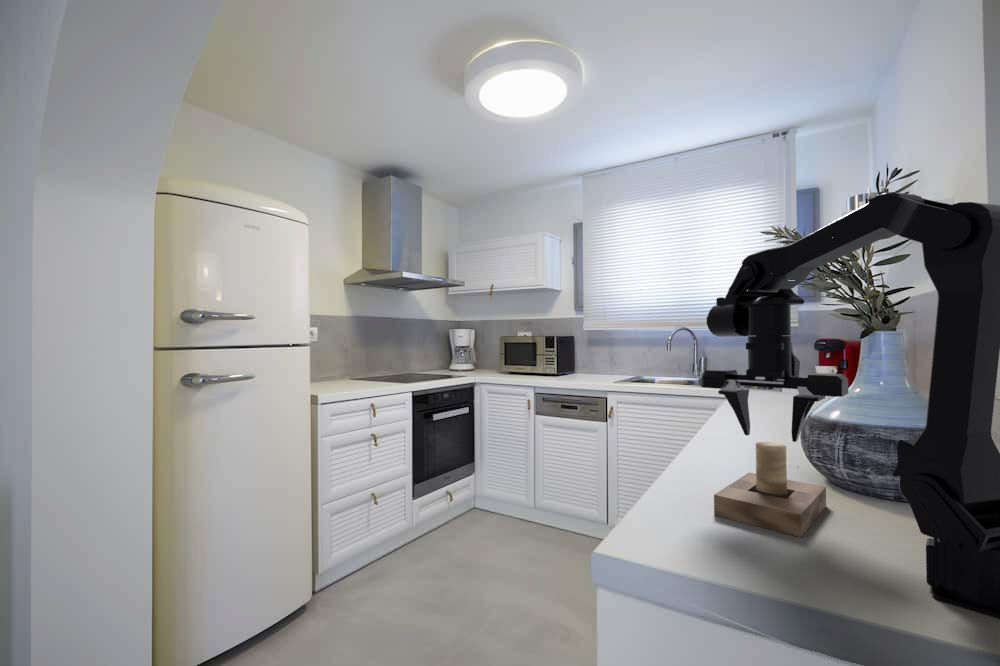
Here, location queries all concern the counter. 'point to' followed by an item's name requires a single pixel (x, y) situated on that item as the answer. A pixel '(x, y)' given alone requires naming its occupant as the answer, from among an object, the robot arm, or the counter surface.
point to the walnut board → (771, 505)
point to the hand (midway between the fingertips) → (770, 438)
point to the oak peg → (771, 469)
